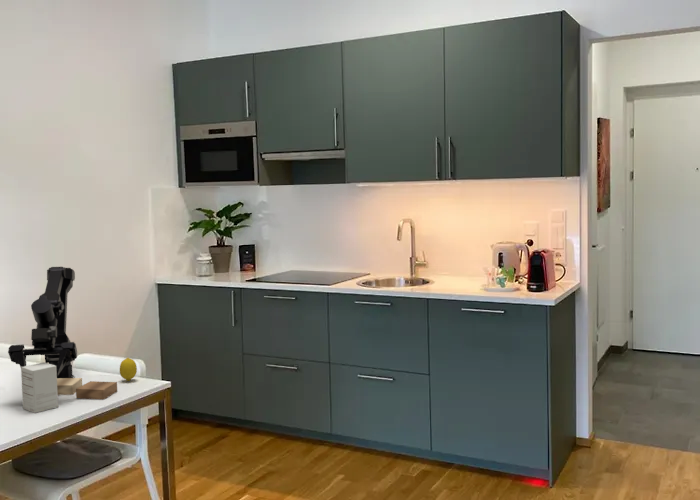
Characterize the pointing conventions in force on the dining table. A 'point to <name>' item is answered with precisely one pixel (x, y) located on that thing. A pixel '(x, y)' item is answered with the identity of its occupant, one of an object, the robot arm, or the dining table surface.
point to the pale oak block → (68, 385)
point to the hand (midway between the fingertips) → (40, 376)
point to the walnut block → (96, 390)
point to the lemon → (128, 369)
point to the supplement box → (39, 387)
